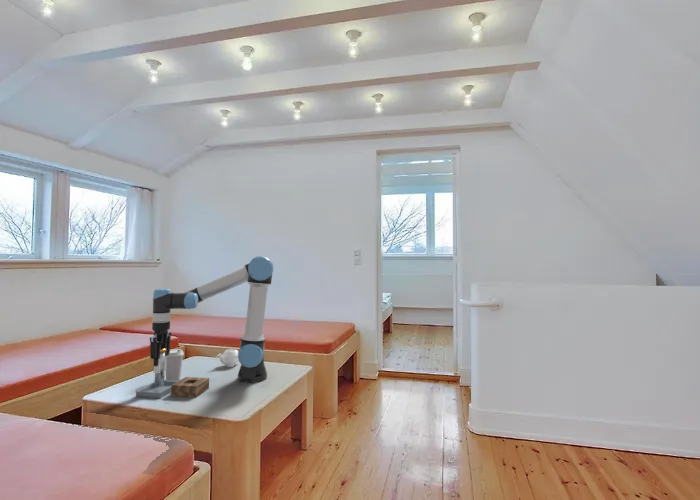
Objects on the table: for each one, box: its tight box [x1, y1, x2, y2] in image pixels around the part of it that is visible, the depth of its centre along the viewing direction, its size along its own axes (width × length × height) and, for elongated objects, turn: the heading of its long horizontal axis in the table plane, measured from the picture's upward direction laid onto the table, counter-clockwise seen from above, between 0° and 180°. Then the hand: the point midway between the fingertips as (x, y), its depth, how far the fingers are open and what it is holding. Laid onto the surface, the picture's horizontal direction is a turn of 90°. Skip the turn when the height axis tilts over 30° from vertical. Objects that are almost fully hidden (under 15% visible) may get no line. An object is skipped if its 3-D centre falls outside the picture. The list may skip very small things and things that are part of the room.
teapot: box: [215, 348, 239, 368], centre depth 215 cm, size 10×20×9 cm, turn 140°
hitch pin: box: [154, 348, 166, 387], centre depth 172 cm, size 5×5×17 cm
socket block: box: [170, 376, 210, 399], centre depth 171 cm, size 12×12×5 cm
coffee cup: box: [165, 348, 185, 381], centre depth 188 cm, size 10×10×15 cm
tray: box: [135, 379, 178, 399], centre depth 172 cm, size 12×16×2 cm
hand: (159, 371), depth 172 cm, fingers closed on hitch pin, 4 cm apart
